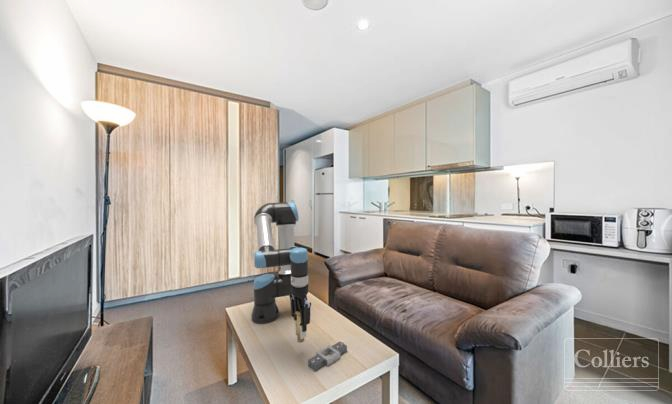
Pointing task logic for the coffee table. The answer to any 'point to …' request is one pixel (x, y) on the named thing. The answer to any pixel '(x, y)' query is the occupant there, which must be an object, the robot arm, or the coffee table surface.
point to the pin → (299, 326)
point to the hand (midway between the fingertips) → (300, 335)
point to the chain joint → (322, 360)
